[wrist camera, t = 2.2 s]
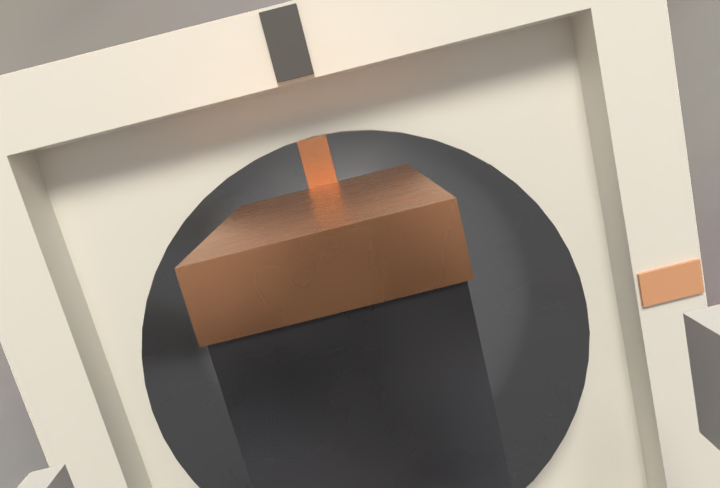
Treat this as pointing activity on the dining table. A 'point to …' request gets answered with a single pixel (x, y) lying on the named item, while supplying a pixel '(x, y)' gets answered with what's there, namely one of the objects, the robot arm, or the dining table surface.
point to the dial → (365, 323)
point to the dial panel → (343, 113)
